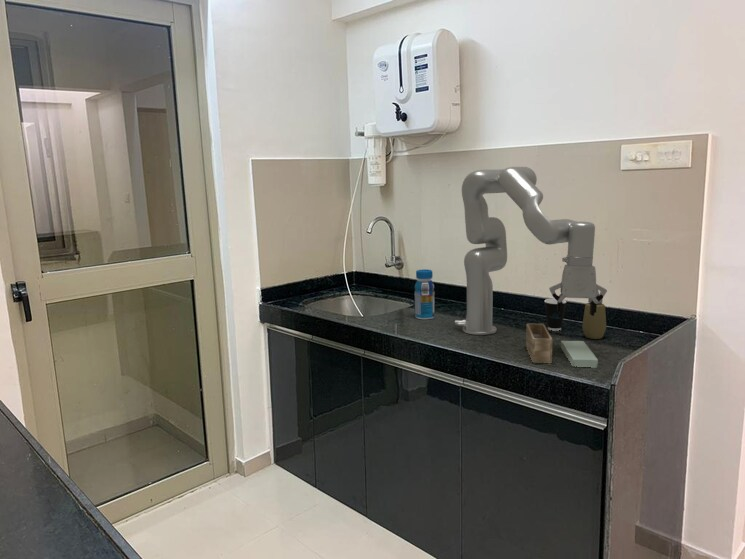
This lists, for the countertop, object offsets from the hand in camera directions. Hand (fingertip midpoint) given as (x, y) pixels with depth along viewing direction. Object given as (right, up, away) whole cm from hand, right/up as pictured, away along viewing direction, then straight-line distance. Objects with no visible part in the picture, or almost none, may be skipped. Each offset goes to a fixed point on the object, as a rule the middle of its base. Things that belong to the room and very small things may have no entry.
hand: (576, 314), depth 180 cm
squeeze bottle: (+14, -10, +22) cm, 28 cm away
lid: (+1, -14, 0) cm, 14 cm away
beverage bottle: (-43, -5, +57) cm, 71 cm away
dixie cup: (+4, -8, +33) cm, 34 cm away
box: (-11, -13, +4) cm, 18 cm away
